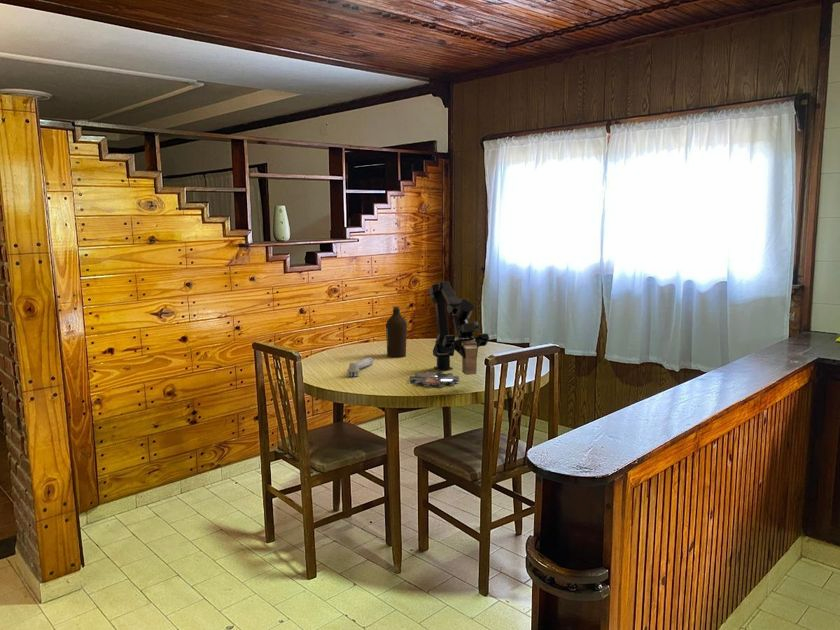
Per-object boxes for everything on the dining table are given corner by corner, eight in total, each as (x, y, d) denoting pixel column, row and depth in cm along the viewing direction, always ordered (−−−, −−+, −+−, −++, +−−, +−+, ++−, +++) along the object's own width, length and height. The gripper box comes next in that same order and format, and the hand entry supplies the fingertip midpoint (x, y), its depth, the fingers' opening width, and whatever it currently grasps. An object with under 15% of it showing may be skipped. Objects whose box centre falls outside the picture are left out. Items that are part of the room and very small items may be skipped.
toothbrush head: (374, 357, 293) (357, 361, 269) (374, 371, 293) (356, 376, 269) (364, 356, 295) (345, 360, 270) (363, 370, 295) (345, 376, 270)
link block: (462, 372, 255) (462, 341, 253) (472, 371, 256) (473, 340, 254) (465, 374, 250) (466, 343, 248) (476, 374, 252) (477, 342, 250)
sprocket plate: (400, 378, 268) (400, 373, 268) (442, 372, 279) (442, 367, 278) (425, 390, 250) (425, 384, 250) (468, 383, 260) (468, 378, 260)
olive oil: (408, 353, 318) (408, 305, 314) (405, 358, 307) (405, 308, 304) (388, 353, 319) (387, 304, 315) (384, 357, 309) (383, 307, 305)
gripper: (444, 315, 251) (453, 348, 242) (488, 314, 256) (498, 345, 247) (438, 331, 259) (446, 363, 251) (480, 329, 264) (490, 360, 256)
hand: (470, 358), depth 251 cm, fingers closed on link block, 4 cm apart
